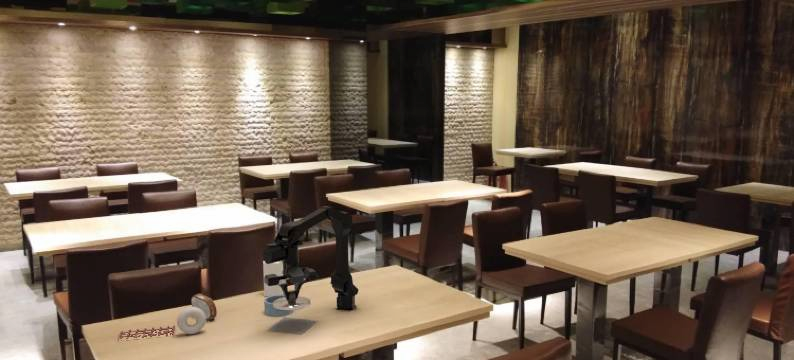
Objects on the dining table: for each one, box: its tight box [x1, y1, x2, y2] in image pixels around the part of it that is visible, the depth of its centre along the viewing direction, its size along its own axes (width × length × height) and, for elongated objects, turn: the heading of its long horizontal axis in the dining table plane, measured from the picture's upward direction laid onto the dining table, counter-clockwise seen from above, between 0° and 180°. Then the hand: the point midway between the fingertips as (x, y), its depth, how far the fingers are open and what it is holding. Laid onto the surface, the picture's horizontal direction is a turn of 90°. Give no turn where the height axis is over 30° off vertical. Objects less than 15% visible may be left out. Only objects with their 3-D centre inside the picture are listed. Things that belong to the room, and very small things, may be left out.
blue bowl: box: [263, 294, 294, 318], centre depth 243 cm, size 11×11×6 cm
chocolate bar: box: [118, 325, 176, 339], centre depth 222 cm, size 7×19×2 cm, turn 105°
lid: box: [273, 289, 311, 311], centre depth 227 cm, size 14×14×5 cm
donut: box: [176, 306, 207, 335], centre depth 222 cm, size 10×3×10 cm, turn 113°
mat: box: [266, 316, 318, 336], centre depth 228 cm, size 14×14×1 cm
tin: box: [190, 293, 218, 321], centre depth 239 cm, size 15×3×8 cm, turn 47°
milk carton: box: [262, 260, 284, 297], centre depth 264 cm, size 7×7×19 cm
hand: (291, 299), depth 227 cm, fingers closed on lid, 3 cm apart
